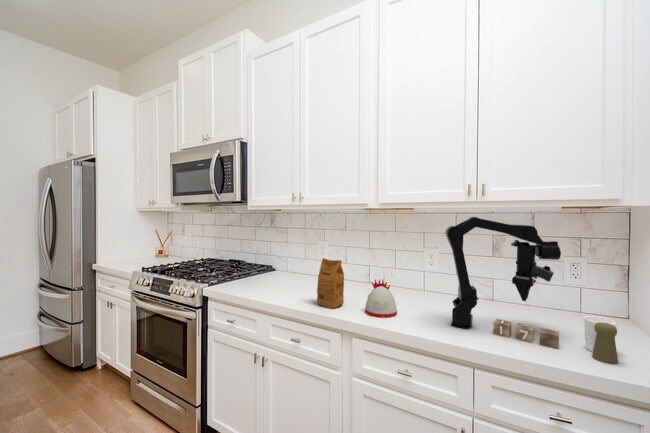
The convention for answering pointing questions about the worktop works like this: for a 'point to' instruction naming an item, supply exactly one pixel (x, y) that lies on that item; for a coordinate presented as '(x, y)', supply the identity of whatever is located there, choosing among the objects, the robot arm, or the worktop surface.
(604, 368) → the worktop surface
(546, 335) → the plain block
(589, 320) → the white cup
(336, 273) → the coffee package
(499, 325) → the block one
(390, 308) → the grey dome
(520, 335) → the tan marked cube block
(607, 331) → the cork
